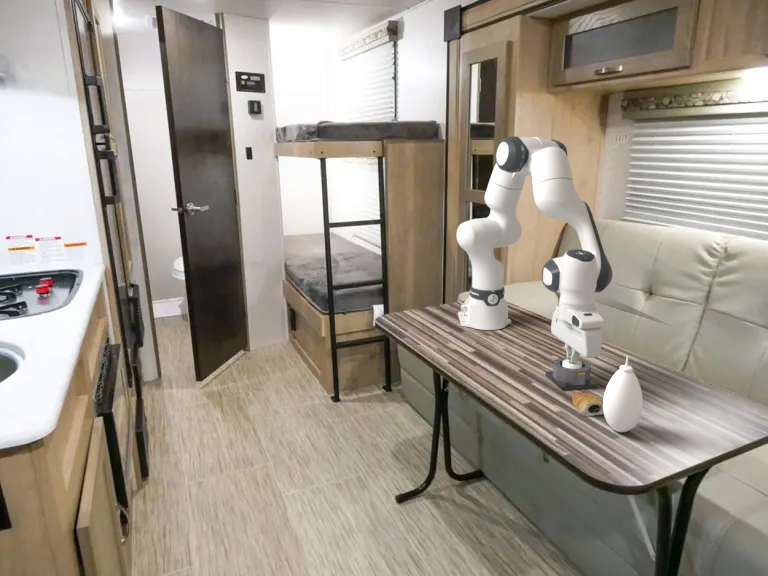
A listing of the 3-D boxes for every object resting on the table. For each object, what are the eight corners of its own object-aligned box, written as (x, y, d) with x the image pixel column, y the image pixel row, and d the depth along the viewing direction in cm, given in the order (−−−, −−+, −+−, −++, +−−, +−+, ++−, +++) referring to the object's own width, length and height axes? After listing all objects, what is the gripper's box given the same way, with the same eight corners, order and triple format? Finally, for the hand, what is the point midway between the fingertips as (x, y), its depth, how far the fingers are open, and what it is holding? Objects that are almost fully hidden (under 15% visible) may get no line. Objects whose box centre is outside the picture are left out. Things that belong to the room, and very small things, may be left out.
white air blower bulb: (628, 420, 120) (636, 348, 116) (645, 438, 113) (655, 361, 108) (595, 422, 120) (601, 349, 116) (610, 440, 113) (618, 362, 108)
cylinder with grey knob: (558, 374, 144) (559, 359, 142) (575, 373, 144) (576, 358, 143) (566, 382, 139) (568, 366, 138) (584, 381, 139) (585, 365, 138)
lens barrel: (545, 375, 146) (546, 358, 145) (578, 372, 147) (579, 355, 146) (562, 390, 136) (563, 373, 135) (597, 387, 138) (599, 370, 136)
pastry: (564, 400, 132) (565, 386, 131) (590, 398, 132) (591, 384, 131) (581, 418, 123) (582, 403, 122) (608, 416, 123) (610, 401, 122)
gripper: (546, 302, 146) (544, 348, 150) (584, 324, 127) (580, 377, 130) (567, 300, 147) (564, 346, 151) (608, 323, 128) (603, 375, 131)
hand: (572, 361), depth 140 cm, fingers closed
